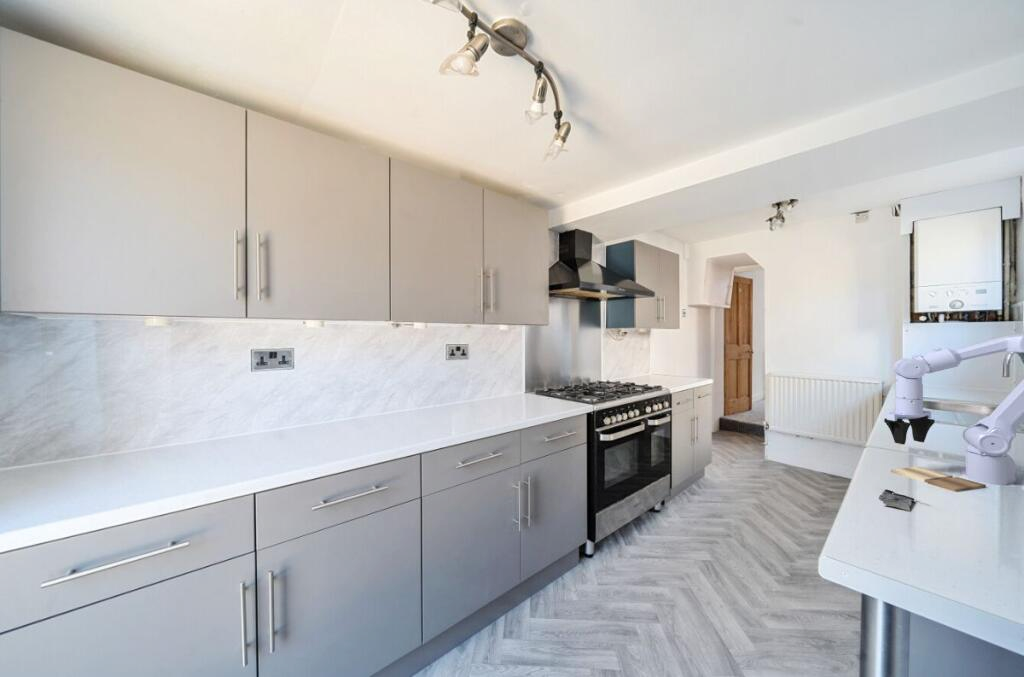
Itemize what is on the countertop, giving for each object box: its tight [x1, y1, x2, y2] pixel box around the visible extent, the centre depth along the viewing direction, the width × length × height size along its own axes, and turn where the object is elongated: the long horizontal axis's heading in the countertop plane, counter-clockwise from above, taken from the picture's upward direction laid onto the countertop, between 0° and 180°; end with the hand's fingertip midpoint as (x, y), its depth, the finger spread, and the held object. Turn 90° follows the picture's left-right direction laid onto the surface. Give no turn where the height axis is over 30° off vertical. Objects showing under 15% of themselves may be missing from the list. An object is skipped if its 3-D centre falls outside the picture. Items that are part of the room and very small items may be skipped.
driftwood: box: [877, 489, 915, 512], centre depth 98 cm, size 21×7×2 cm, turn 123°
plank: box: [890, 465, 954, 483], centre depth 108 cm, size 11×8×2 cm
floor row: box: [927, 476, 987, 493], centre depth 106 cm, size 11×16×2 cm
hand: (909, 442), depth 113 cm, fingers open, 7 cm apart
